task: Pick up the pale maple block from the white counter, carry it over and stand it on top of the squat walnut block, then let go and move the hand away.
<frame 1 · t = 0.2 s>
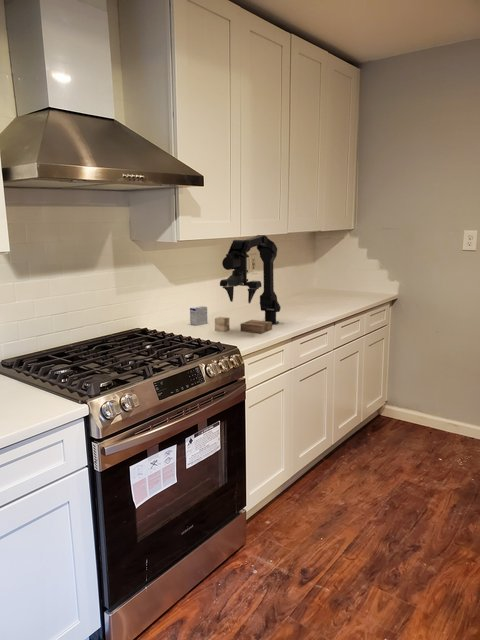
hand: (240, 302, 232), 14 cm above the countertop, fingers open, 9 cm apart
maple block: (222, 330, 241), on the countertop
box: (198, 324, 256), on the countertop
walnut block: (256, 331, 241), on the countertop
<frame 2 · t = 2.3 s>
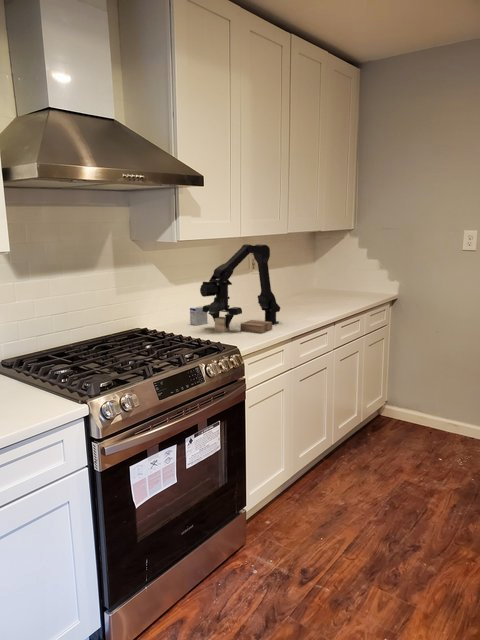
hand: (222, 327, 241), 1 cm above the countertop, fingers closed on maple block, 5 cm apart
maple block: (222, 330, 241), on the countertop, touching gripper
everything else where it was.
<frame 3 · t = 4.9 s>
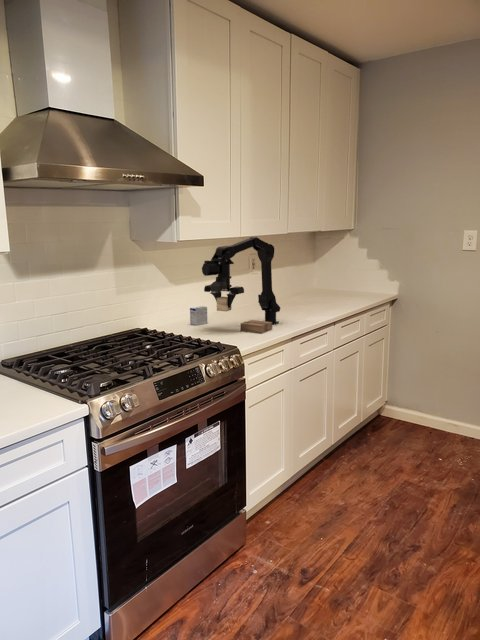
hand: (224, 307, 239), 11 cm above the countertop, fingers closed on maple block, 5 cm apart
maple block: (224, 310, 239), point 10 cm above the countertop, touching gripper
everything else where it was.
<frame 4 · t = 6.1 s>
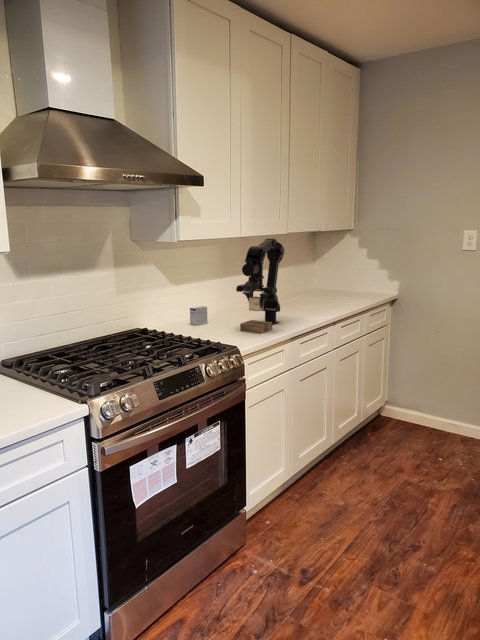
hand: (256, 307, 239), 11 cm above the countertop, fingers closed on maple block, 5 cm apart
maple block: (256, 310, 239), point 10 cm above the countertop, touching gripper
everything else where it was.
when the fingers open (6 cm above the countertop, at t = 7.3 s): maple block drops 2 cm, point 4 cm above the countertop.
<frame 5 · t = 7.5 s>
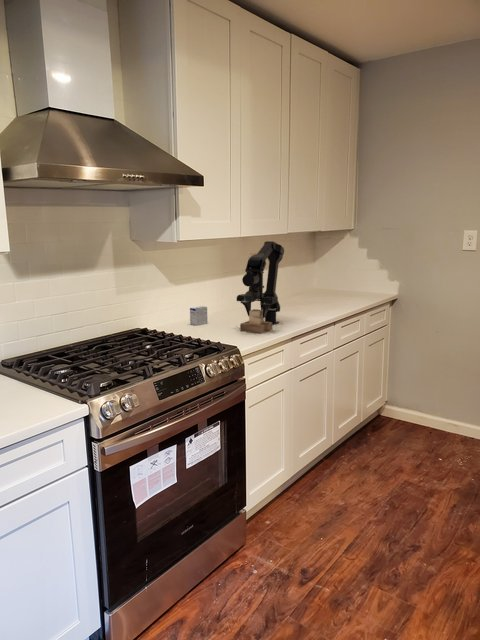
hand: (256, 317, 240), 6 cm above the countertop, fingers open, 7 cm apart
maple block: (256, 322, 240), point 4 cm above the countertop
everything else where it was.
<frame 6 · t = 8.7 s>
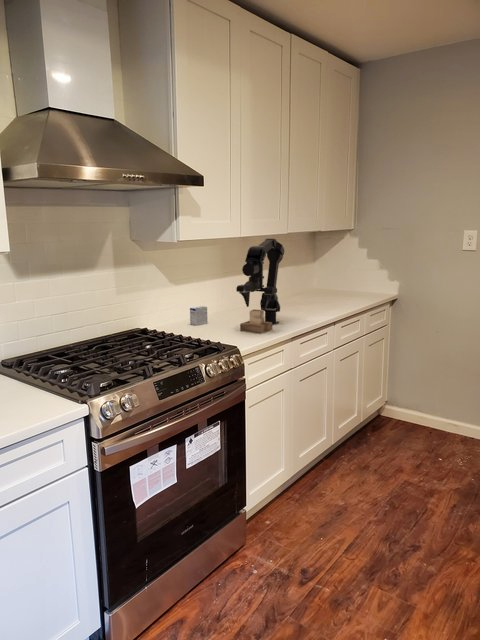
hand: (256, 307, 239), 11 cm above the countertop, fingers open, 9 cm apart
maple block: (256, 323, 240), point 4 cm above the countertop, touching walnut block
walnut block: (256, 331, 241), on the countertop, touching maple block
everything else where it was.
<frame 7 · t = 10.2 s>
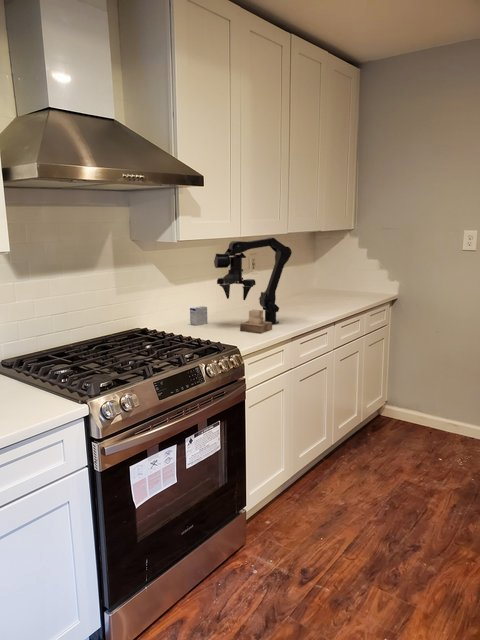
hand: (236, 299, 249), 13 cm above the countertop, fingers open, 9 cm apart
nothing on the countertop moved.
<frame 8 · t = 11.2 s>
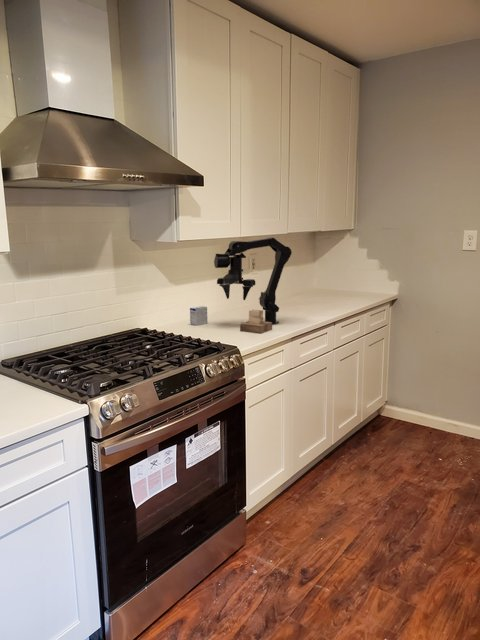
hand: (236, 299, 250), 13 cm above the countertop, fingers open, 9 cm apart
maple block: (255, 322, 241), point 4 cm above the countertop
walnut block: (256, 331, 241), on the countertop
everything else where it was.
at the end: maple block inside the target area on the walnut block (0.4 cm from its centre), point 4.0 cm above the walnut block's base; maple block tilted 0°; the gripper is holding nothing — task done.
